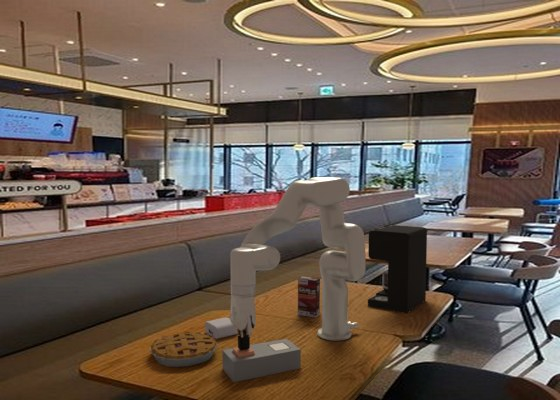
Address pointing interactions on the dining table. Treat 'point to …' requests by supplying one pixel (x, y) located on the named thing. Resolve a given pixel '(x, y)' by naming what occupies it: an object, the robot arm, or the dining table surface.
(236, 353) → the terracotta plunger
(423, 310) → the dining table surface
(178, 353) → the pie
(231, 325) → the charger
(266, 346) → the button box
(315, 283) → the supplement box
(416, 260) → the coffee maker
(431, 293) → the dining table surface
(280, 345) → the beige plunger
